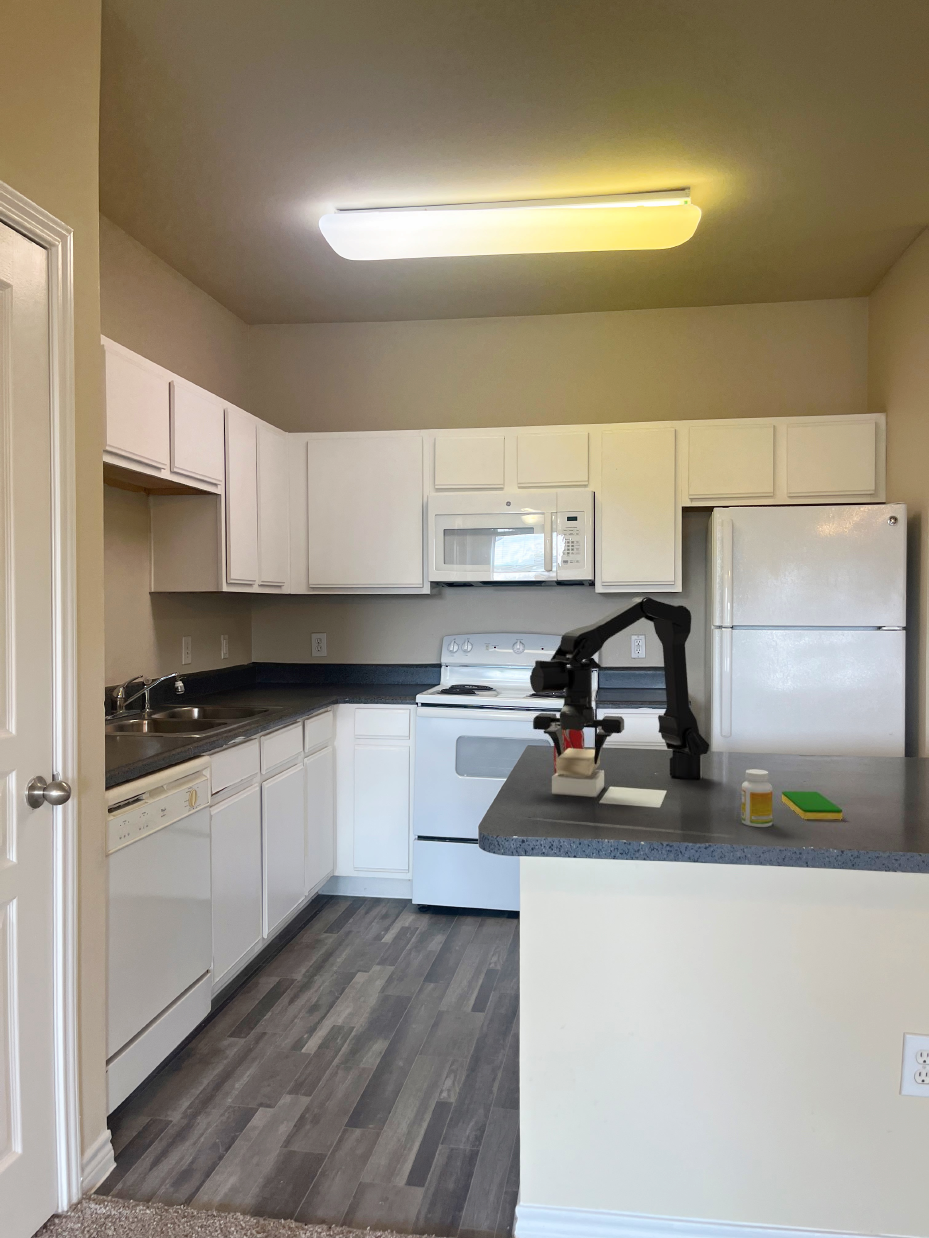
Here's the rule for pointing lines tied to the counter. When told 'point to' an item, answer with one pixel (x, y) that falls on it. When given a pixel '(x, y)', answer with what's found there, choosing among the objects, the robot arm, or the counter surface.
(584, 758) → the beech lid
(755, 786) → the supplement bottle
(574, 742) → the soda can
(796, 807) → the dish sponge
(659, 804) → the silicone mat
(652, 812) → the counter surface
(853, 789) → the counter surface
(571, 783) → the ceramic dish
